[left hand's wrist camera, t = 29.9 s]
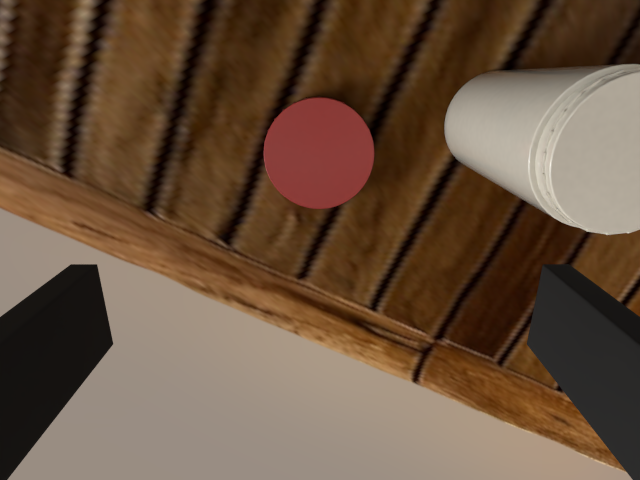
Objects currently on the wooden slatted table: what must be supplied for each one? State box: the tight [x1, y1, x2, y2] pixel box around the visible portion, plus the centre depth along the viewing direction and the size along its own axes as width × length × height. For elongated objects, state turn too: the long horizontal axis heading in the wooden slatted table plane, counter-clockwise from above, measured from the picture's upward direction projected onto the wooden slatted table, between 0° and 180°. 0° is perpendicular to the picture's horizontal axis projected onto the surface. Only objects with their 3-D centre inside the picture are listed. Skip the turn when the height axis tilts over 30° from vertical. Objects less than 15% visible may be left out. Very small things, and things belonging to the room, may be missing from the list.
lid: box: [264, 96, 375, 209], centre depth 40 cm, size 10×10×2 cm
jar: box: [444, 64, 640, 235], centre depth 31 cm, size 9×9×19 cm
